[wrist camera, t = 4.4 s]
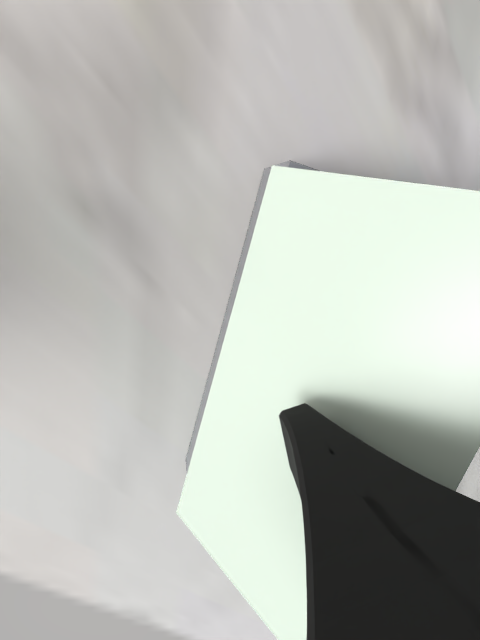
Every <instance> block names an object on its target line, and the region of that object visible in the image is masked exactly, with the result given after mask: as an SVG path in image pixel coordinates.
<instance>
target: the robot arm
mask: <svg viewBox="0 0 480 640" xmlns="http://www.w3.org/2000/svg"><path fill="white" fill-rule="evenodd" d="M279 419H280V424H281V428H282V433H283V438H284V443H285V447H286V452H287V457H288V461H289V466H290V469H291V472H292V474H293V477H294V480H295V483H296V486H297V488H298V491H299V495H300V498H301V503H302V512H303V523H304V537H305V555H306V588H307V640H480V502H478V501H475V500H473V499H471V498H469V497H467V496H464V495H462V494H460V493H458V492H456V491H454V490H452V489H449V488H447V487H445V486H443V485H441V484H439V483H437V482H435V481H433V480H431V479H429V478H427V477H425V476H423V475H421V474H419V473H417V472H415V471H413V470H412V469H410V468H408V467H406V466H404V465H402V464H401V463H399V462H397V461H395V460H393V459H392V458H390V457H388V456H386V455H385V454H383V453H381V452H380V451H378V450H376V449H375V448H373V447H371V446H370V445H368V444H366V443H365V442H363V441H362V440H360V439H358V438H357V437H355V436H354V435H352V434H350V433H349V432H347V431H346V430H344V429H343V428H341V427H340V426H338V425H337V424H335V423H334V422H332V421H331V420H329V419H328V418H326V417H325V416H324V415H322V414H321V413H319V412H318V411H316V410H315V409H314V408H312V407H311V406H309V405H308V404H306V403H304V404H301V405H298V406H295V407H291V408H288V409H285V410H282V411H281V413H280V414H279Z"/></svg>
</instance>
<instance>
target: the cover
mask: <svg viewBox="0 0 480 640" xmlns="http://www.w3.org/2000/svg"><path fill="white" fill-rule="evenodd" d="M304 403H306V404H308V405H309V406H311V407H312V408H314V409H315V410H316V411H318V412H319V413H321V414H322V415H324V416H325V417H326V418H328V419H329V420H331V421H332V422H334V423H335V424H337V425H338V426H340V427H341V428H343V429H344V430H346V431H347V432H349V433H350V434H352V435H354V436H355V437H357V438H358V439H360V440H362V441H363V442H365V443H366V444H368V445H370V446H371V447H373V448H375V449H376V450H378V451H380V452H381V453H383V454H385V455H386V456H388V457H390V458H392V459H393V460H395V461H397V462H399V463H401V464H402V465H404V466H406V467H408V468H410V469H412V470H413V471H415V472H417V473H419V474H421V475H423V476H425V477H427V478H429V479H431V480H433V481H435V482H437V483H439V484H441V485H443V486H445V487H447V488H449V489H452V490H454V491H456V489H457V487H458V485H459V483H460V482H461V480H462V478H463V476H464V474H465V472H466V471H467V469H468V467H469V465H470V463H471V461H472V460H473V458H474V456H475V454H476V452H477V450H478V449H479V447H480V191H474V190H466V189H458V188H450V187H442V186H434V185H426V184H418V183H410V182H402V181H394V180H386V179H378V178H370V177H362V176H353V175H345V174H337V173H329V172H321V171H313V170H305V169H297V168H289V167H281V166H273V165H272V167H271V171H270V175H269V178H268V182H267V185H266V189H265V193H264V196H263V200H262V204H261V207H260V211H259V214H258V218H257V222H256V225H255V229H254V233H253V236H252V240H251V244H250V247H249V251H248V254H247V258H246V262H245V265H244V269H243V273H242V276H241V280H240V283H239V287H238V291H237V294H236V298H235V302H234V305H233V309H232V312H231V316H230V320H229V323H228V327H227V331H226V334H225V338H224V341H223V345H222V349H221V352H220V356H219V360H218V363H217V367H216V370H215V374H214V378H213V381H212V385H211V389H210V392H209V396H208V399H207V403H206V407H205V410H204V414H203V418H202V421H201V425H200V428H199V432H198V436H197V439H196V443H195V447H194V450H193V454H192V457H191V461H190V465H189V468H188V472H187V476H186V479H185V483H184V486H183V490H182V494H181V497H180V501H179V505H178V508H177V512H176V513H177V514H178V516H179V517H180V518H181V519H182V521H183V522H184V523H185V524H186V526H187V527H188V528H189V529H190V531H191V532H192V533H193V534H194V536H195V537H196V538H197V539H198V541H199V542H200V543H201V544H202V546H203V547H204V548H205V549H206V551H207V552H208V553H209V554H210V556H211V557H212V558H213V559H214V561H215V562H216V563H217V564H218V566H219V567H220V568H221V569H222V571H223V572H224V573H225V574H226V576H227V577H228V578H229V579H230V581H231V582H232V583H233V584H234V586H235V587H236V588H237V589H238V591H239V592H240V593H241V594H242V596H243V597H244V598H245V599H246V601H247V602H248V603H249V604H250V606H251V607H252V608H253V609H254V611H255V612H256V613H257V614H258V615H259V617H260V618H261V619H262V620H263V622H264V623H265V624H266V625H267V627H268V628H269V629H270V630H271V632H272V633H273V634H274V635H275V637H276V638H277V639H278V640H307V588H306V555H305V537H304V523H303V512H302V503H301V498H300V495H299V491H298V488H297V486H296V483H295V480H294V477H293V474H292V472H291V469H290V466H289V461H288V457H287V452H286V447H285V443H284V438H283V433H282V428H281V424H280V419H279V414H280V413H281V411H282V410H285V409H288V408H291V407H295V406H298V405H301V404H304Z"/></svg>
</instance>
